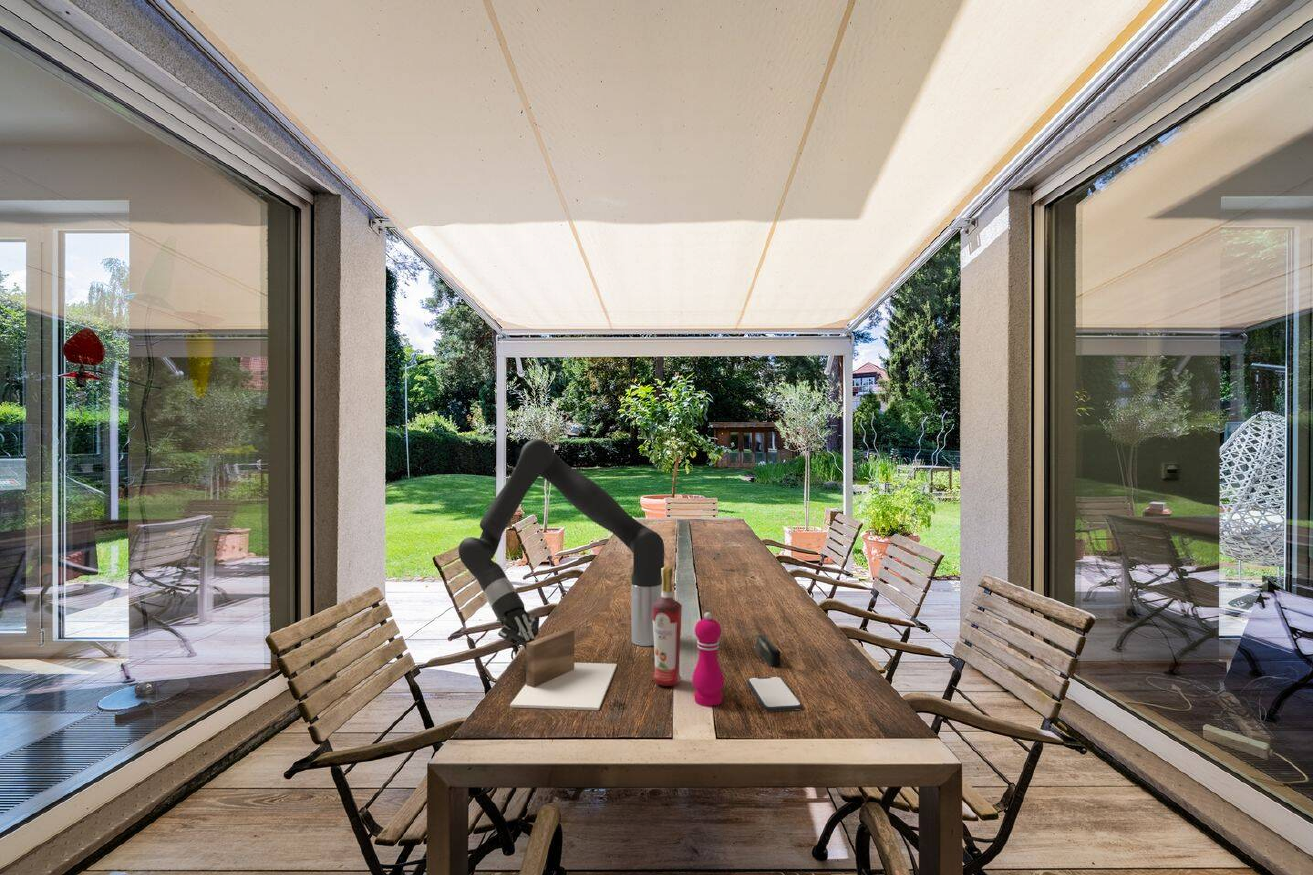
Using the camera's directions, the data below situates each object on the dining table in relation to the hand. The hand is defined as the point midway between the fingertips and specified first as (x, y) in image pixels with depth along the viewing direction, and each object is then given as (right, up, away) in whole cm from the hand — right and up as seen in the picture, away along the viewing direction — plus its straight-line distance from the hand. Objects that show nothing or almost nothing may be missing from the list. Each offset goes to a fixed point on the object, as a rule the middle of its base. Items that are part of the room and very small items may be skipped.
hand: (535, 654), depth 147 cm
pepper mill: (+43, -5, -15) cm, 46 cm away
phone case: (+58, -5, -13) cm, 60 cm away
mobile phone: (+61, -6, +11) cm, 62 cm away
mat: (+9, -5, -7) cm, 12 cm away
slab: (+4, -4, -3) cm, 7 cm away
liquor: (+33, -5, -6) cm, 34 cm away
